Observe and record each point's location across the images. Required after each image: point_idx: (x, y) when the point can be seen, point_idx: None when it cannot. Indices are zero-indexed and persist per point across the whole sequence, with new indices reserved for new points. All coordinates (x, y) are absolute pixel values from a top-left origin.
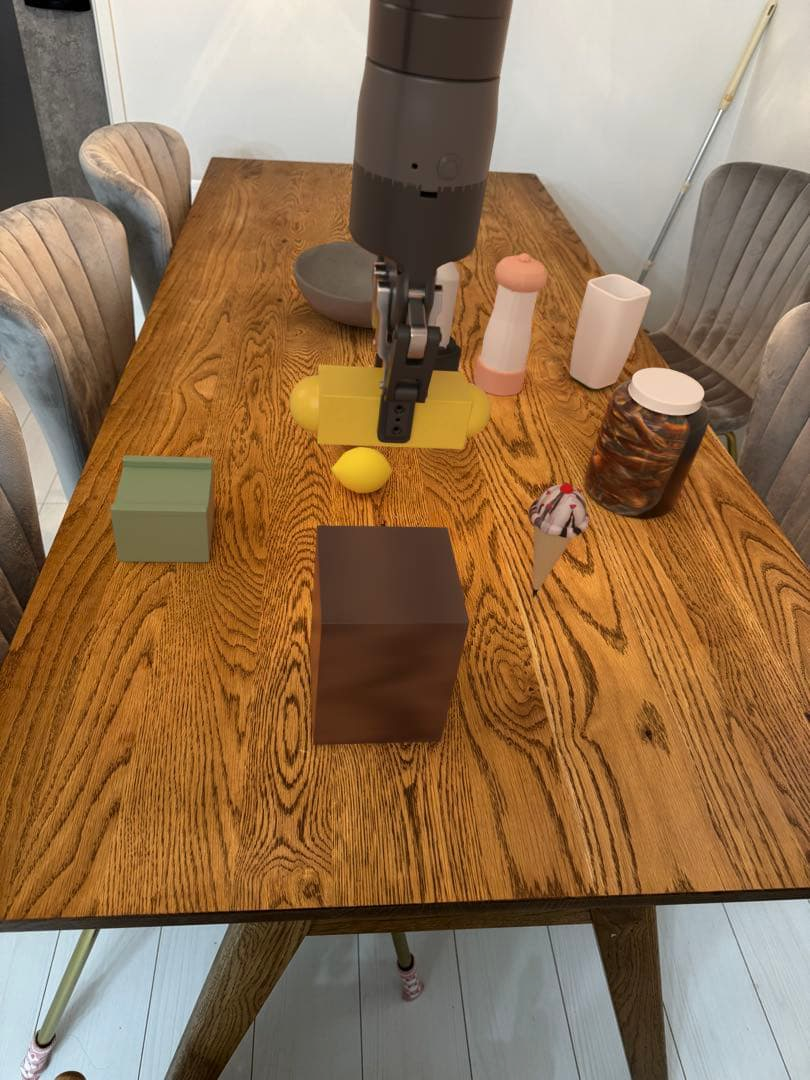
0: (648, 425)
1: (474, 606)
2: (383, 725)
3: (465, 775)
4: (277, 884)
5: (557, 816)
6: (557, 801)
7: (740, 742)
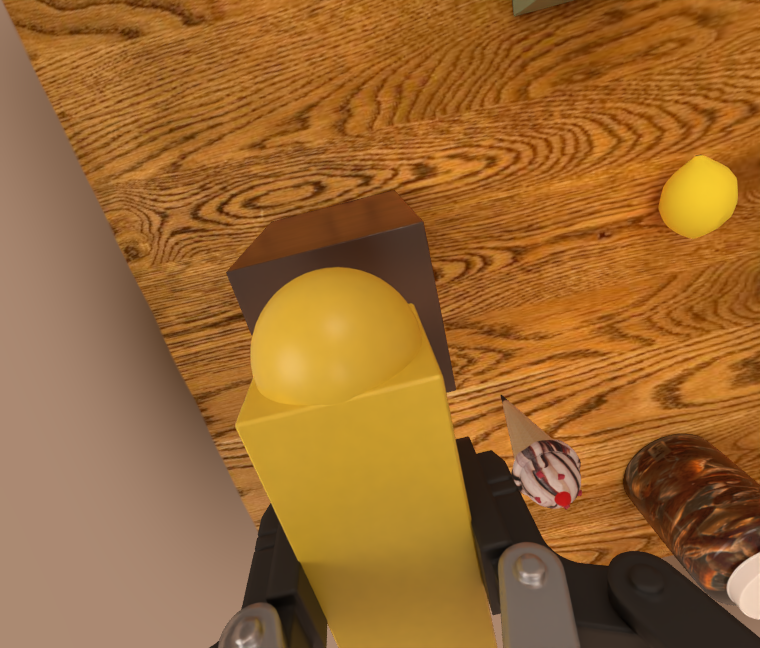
0: (714, 554)
1: (481, 345)
2: None
3: None
4: (124, 223)
5: None
6: None
7: None
